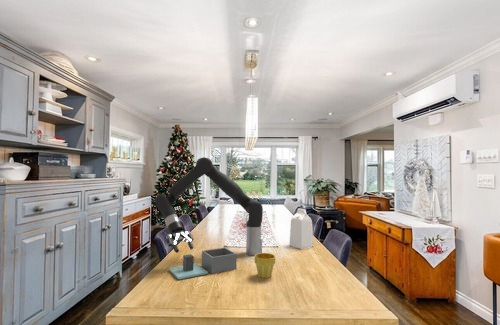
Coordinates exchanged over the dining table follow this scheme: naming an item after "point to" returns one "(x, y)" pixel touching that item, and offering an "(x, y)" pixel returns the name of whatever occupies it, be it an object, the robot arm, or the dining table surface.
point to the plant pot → (264, 264)
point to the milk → (301, 230)
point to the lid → (188, 268)
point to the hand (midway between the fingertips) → (185, 250)
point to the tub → (219, 260)
